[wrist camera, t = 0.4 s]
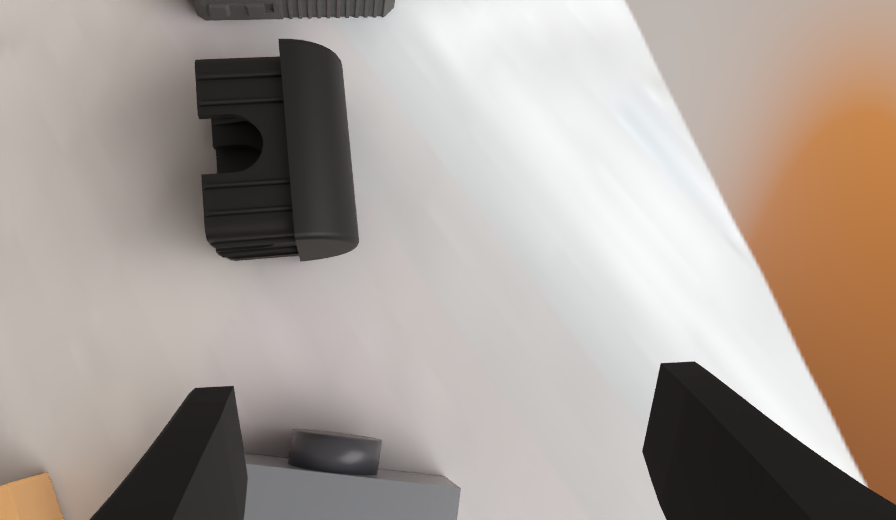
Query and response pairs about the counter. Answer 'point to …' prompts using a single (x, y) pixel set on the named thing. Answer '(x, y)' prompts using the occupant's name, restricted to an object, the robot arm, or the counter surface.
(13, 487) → the long wooden stick
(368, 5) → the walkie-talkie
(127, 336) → the counter surface
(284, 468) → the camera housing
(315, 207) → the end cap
